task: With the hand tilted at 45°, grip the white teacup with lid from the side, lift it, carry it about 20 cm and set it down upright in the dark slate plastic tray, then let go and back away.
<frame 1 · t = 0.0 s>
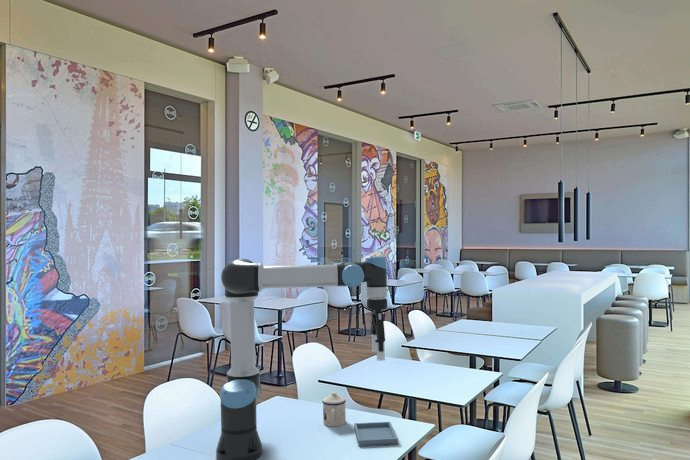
hand: (378, 356, 190), 28 cm above the table, tool pointing down, fingers open, 13 cm apart
teacup with lid: (334, 424, 199), on the table
slate tray: (375, 436, 186), on the table
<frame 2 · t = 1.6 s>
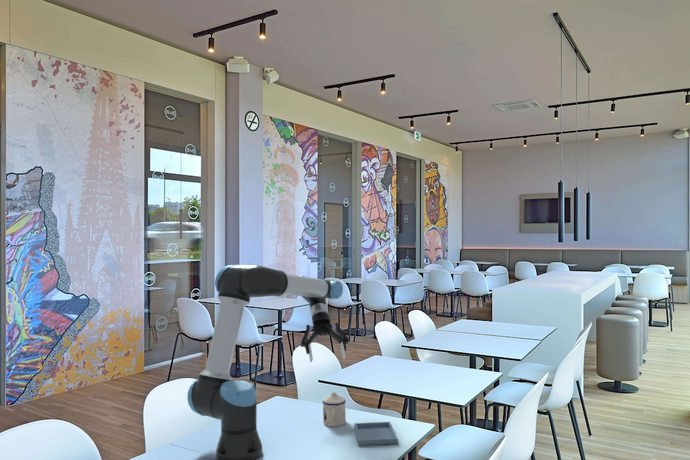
hand: (328, 358, 209), 23 cm above the table, tool tilted 45°, fingers open, 13 cm apart
nothing on the table moved.
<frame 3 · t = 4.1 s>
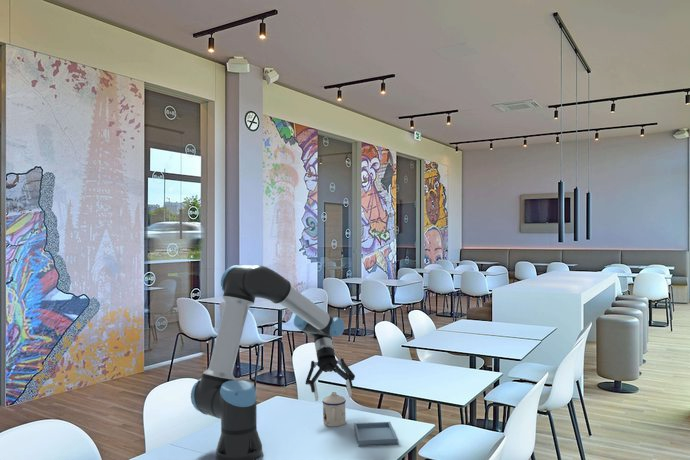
hand: (333, 397, 203), 9 cm above the table, tool tilted 45°, fingers open, 13 cm apart
nothing on the table moved.
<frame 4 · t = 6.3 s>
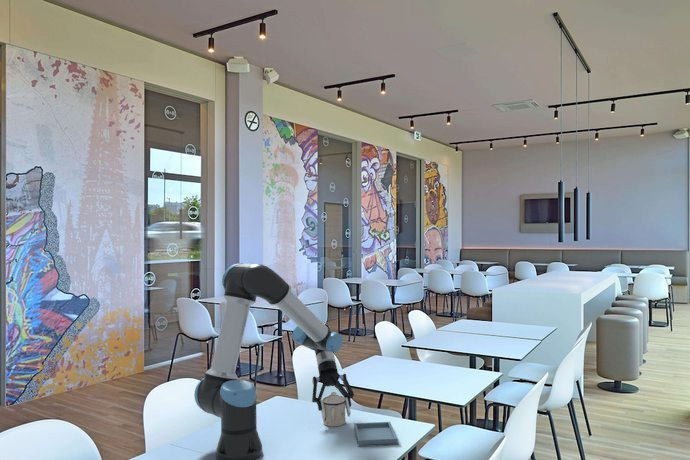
hand: (336, 416, 196), 4 cm above the table, tool tilted 45°, fingers closed on teacup with lid, 9 cm apart
teacup with lid: (334, 424, 199), on the table, touching gripper
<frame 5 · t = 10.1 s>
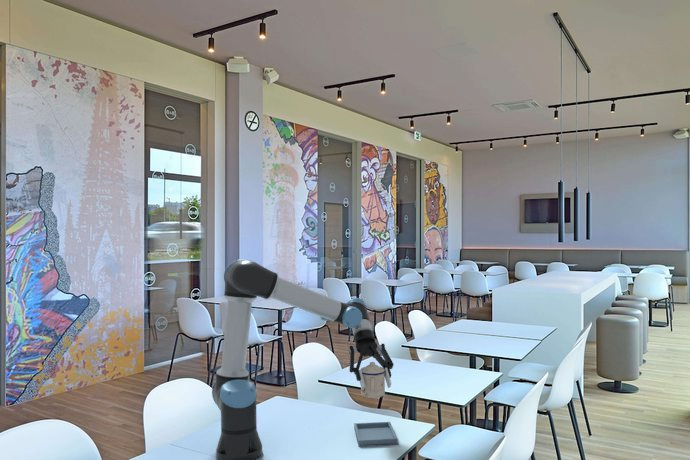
hand: (376, 387, 183), 19 cm above the table, tool tilted 45°, fingers closed on teacup with lid, 9 cm apart
teacup with lid: (372, 396, 186), point 14 cm above the table, touching gripper
when the fingers open (6 cm above the table, at t = 13.8 s): teacup with lid drops 2 cm, resting on slate tray.
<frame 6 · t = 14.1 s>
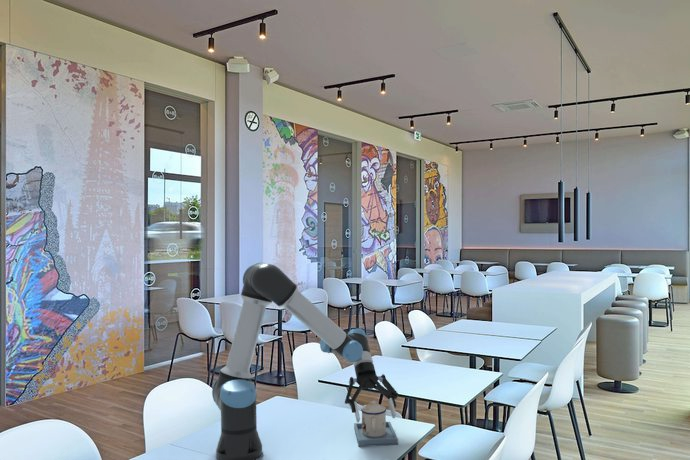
hand: (376, 418, 184), 7 cm above the table, tool tilted 45°, fingers open, 13 cm apart
teacup with lid: (374, 435, 186), resting on slate tray
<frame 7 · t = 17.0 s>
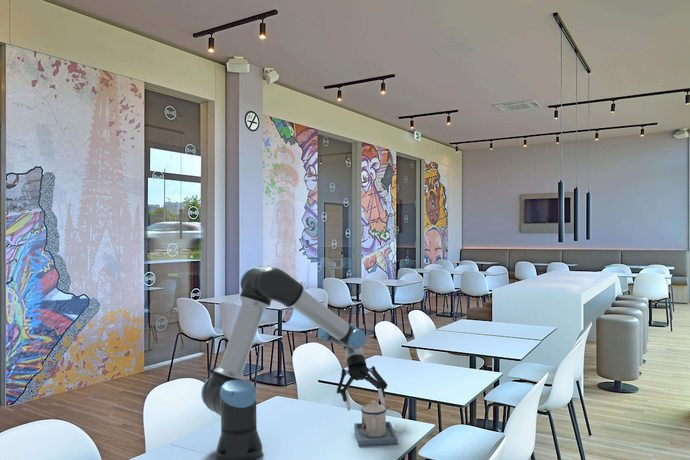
hand: (366, 407, 196), 7 cm above the table, tool tilted 45°, fingers open, 13 cm apart
nothing on the table moved.
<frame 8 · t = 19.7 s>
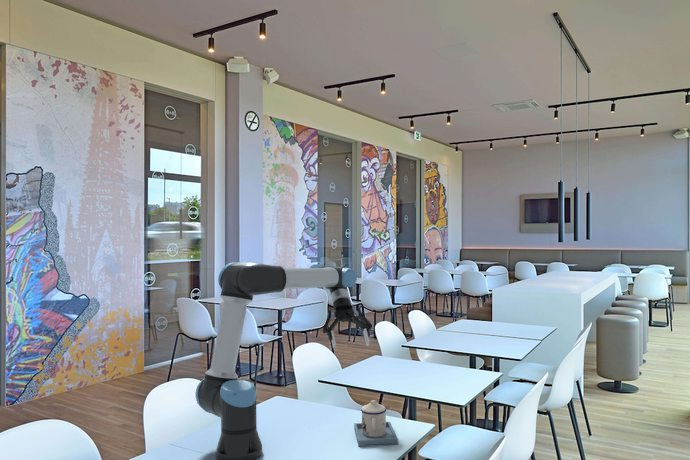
hand: (351, 345, 202), 30 cm above the table, tool tilted 45°, fingers open, 13 cm apart
nothing on the table moved.
at the end: teacup with lid inside the target area on the slate tray (0.4 cm from its centre), point 0.4 cm above the slate tray's base; teacup with lid tilted 0°; the gripper is holding nothing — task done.
